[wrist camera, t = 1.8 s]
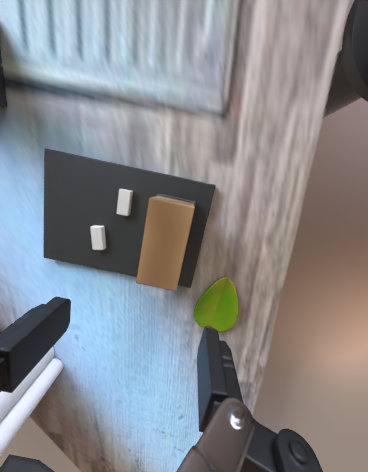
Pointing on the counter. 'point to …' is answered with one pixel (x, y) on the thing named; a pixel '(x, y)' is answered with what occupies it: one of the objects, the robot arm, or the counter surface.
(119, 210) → the small white block
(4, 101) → the phone stand
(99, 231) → the small white block
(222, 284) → the decorative leaf
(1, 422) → the vase
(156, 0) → the counter surface
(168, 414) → the counter surface
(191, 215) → the eraser
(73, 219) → the memo board
